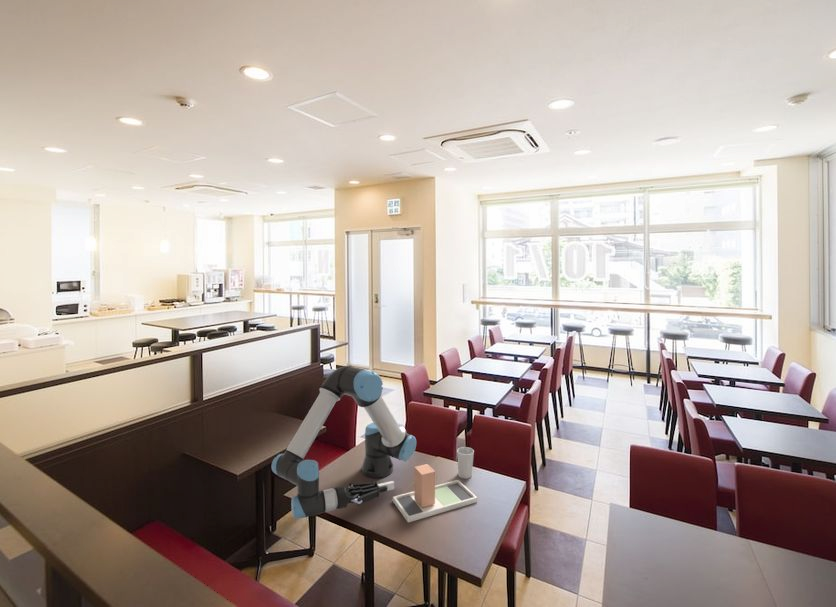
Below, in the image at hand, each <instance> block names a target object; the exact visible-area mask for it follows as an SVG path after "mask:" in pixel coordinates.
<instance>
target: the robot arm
mask: <svg viewBox="0 0 836 607" xmlns="http://www.w3.org/2000/svg"><path fill="white" fill-rule="evenodd" d="M383 384H384V383H383V380H382V378H381V376H380V374H378V373H377V372H375V371H373V370H369V369H364V368H361V367H359V368H358V367H355V366H351V365H345V366H344V365H343V366H340V367H338V368H336V369H335V370H334V371H333V372H331V373H330V374H329V375H328V376H327V377H326V379H325V380H324V382H323V383H322V384H321V386H320V388H319V389H318V390H319V394H318V396H317V397H316V399H315V401H314V402H313V404H312V406H311V408H310V409H309V410H308V413H307V414H306V416H305V418H304V419H303V421H302V423H301V424H300V425H299V427H298V429H297V431H296V433H295V434H294V436H293V438H292V439H291V441H290V443H289V444H288V446H287V448H286V450H285V451H284V453H279V454H277V456H276V457H274V458H273V460H272V461H271V465H270V466H271V471H272V473H274V474H275V475H277V476H278V477H279V478H282V479H284V480H285V481H288V482H290V483H291V484H293V485H295V486H296V487H297V493H296V494H297V495H296V496H295V495H294V496H293V497H292V498H291V500H290V501H291V502H290V504H291V505H290V506H291V514H292V517H293V519H295V520H298V519H305V518H309V517H311V516H316V515H319V514H323V513H328V512H332V511H335V510H340V509H344V508H347V507H348V505H349V504H354V503H356V504H357V506H358V507H360V506H362V505H363V504H365V503H368V502H370V501H373V500H375V499H377V498H379V497H380V494H381V493H384V492H388V491H392V490H395V481H394V480H390V481H386V482H381V483H378V481H375V482H374V481H368V482H366V481H365V482H349V483H348V487H345V486H344V485H340V486H335V487H334V488H332V487H331V488H327V489H324V490H320V469H319V462H318V461H316V460H314V459H305V456H306V455H307V453H308V452H309V449H310V448H311V446H312V444H313V443H314V441H315V439H316V438H317V436H318V433H319V432H320V430H321V429H322V427H323V425H324V424H325V422H326V421H327V418H328V416H330V413H331V411H332V409H333V408H334V406H335V404H336V402H338V401H340V400H341V399H342V397H343V396H344V395H346V396H349V397H351V398H352V399H353V400H354V402H355V403H356V405H357V406H358V407H360V408H363V409H364V410H365V412H366V413H367V416H369V418H370V420H371V423H369V424H367V425H366V427H365V429H364V430H365V432H364V444H365V454H364V458H363V461H362V465H361V473H362V475H364V476H366V477H368V478H372V479H375V478H376V479H379V478H385V477H387V476H389V475H390V474H393V471H394V463H393V460H392V458H394V459H396V460H399V461H402V462H407V461H409V460H410V459H411V458H412V457H413V455H414V454H415V452H416V447H417V439H416V437H415V436H414V435H412V434H409V433H407V432H408V431H407V430H406V428H405V427H404V426H403V425H401V424H398V422H397V421H396V419H395V417H394V415H393V414H392V412H391V410H390V408H389V407H388V405H387V403H386V402H385V400H384V398H383V397H382V393H383V387H384V386H383Z"/></svg>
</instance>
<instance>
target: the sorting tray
mask: <svg viewBox="0 0 836 607" xmlns="http://www.w3.org/2000/svg"><path fill="white" fill-rule="evenodd" d="M392 502H393V504H395V506H396V508H397V509H398V511H399V512H400V513H401V515H402V516H403V518H404V520H406V522H407V523H411V522H415V521H417V520H421V519H425V518H429V517H431V516H435V515H438V514H442V513H446V512H448V511H452V510H455V509H458V508H461V507H464V506H468V505H471V504H472V505H473V504H475V503H478V496H476V494H474V492H472V491H471V490H470V489H469V488H468V487H467V486H466V485H465V484H463V482H461V480H459V479H455V480H452V481H448V482H444V483H440V484H437V485H436V484H435V504H433V505H429V506H426V507H421V506H420V505H419V504H418V502H417V501H416V500H415V499H414V491H410V492H406V493H402V494H398V495H395V496H392Z"/></svg>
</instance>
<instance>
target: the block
mask: <svg viewBox="0 0 836 607" xmlns="http://www.w3.org/2000/svg"><path fill="white" fill-rule="evenodd" d="M413 480H414V482H413V483H414V487H413V488H414V499H415V500H416V501H417V502H418V504H419V505H420V506H421V507H426V506H429V505H433V504H435V486H436V470H434V469H433V468H432V467H431V466H430V465H429V464H428V463H426V464H421V465H417V466H414V479H413Z"/></svg>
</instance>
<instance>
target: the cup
mask: <svg viewBox="0 0 836 607" xmlns="http://www.w3.org/2000/svg"><path fill="white" fill-rule="evenodd" d="M456 454H457V455H456V456H457V470H458V474H457V475H458V477H460V478H461V479H470V478H471V477H472V476H473V475H472V474H473V465H474V457H475V456H474V455H475V450H474V449H473V448H472V447H467V446H462V447H458V448H457V449H456Z"/></svg>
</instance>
